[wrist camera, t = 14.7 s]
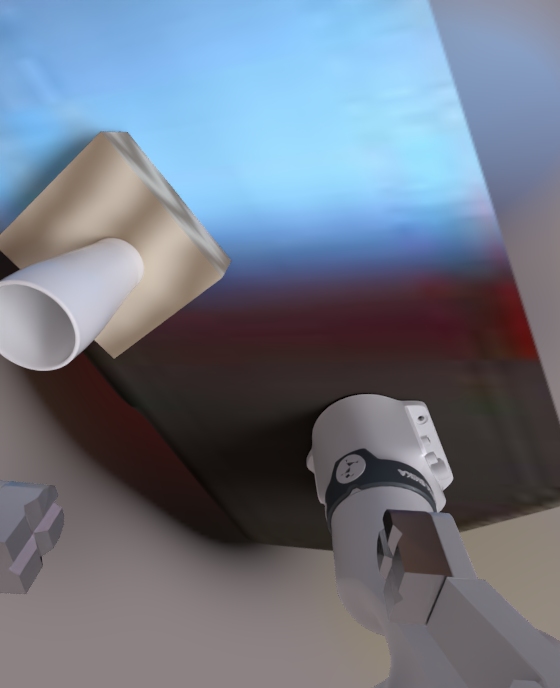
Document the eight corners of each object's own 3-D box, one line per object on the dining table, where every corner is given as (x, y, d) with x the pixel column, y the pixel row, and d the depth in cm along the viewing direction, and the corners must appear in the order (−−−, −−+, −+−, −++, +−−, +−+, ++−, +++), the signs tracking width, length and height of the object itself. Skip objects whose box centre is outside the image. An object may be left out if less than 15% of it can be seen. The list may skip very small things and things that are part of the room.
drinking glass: (97, 298, 41) (1, 375, 28) (75, 232, 38) (-45, 284, 25) (160, 292, 41) (93, 369, 27) (143, 225, 38) (58, 274, 24)
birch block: (231, 260, 45) (222, 277, 40) (133, 334, 50) (114, 358, 45) (127, 132, 39) (100, 131, 34) (29, 229, 44) (-8, 242, 39)
